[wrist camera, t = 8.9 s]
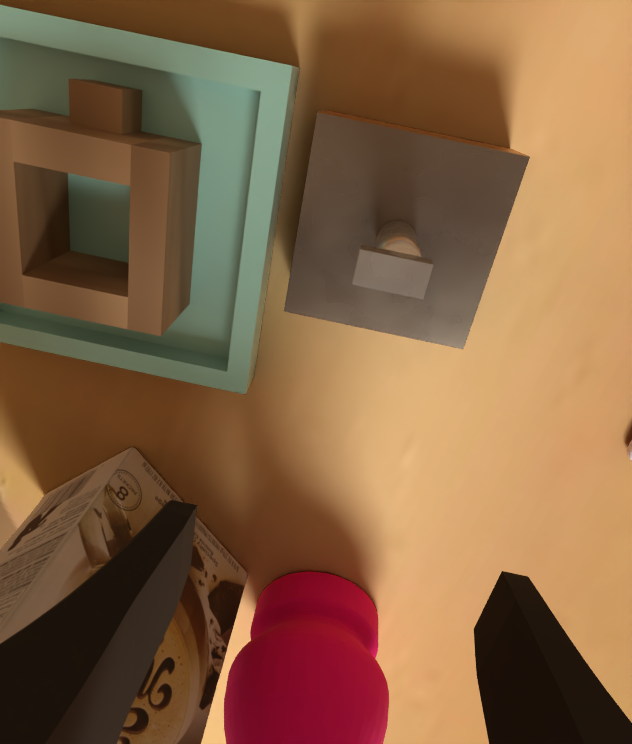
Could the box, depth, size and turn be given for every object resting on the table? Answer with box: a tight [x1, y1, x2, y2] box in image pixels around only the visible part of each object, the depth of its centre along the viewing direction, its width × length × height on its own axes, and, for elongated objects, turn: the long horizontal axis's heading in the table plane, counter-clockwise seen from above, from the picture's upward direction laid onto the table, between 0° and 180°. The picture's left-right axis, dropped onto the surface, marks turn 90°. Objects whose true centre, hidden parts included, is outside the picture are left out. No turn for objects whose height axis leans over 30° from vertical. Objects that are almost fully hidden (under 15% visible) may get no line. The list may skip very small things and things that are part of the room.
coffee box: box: [0, 447, 247, 744], centre depth 20 cm, size 9×6×16 cm
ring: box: [0, 79, 202, 336], centre depth 17 cm, size 6×7×3 cm
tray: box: [0, 5, 300, 395], centre depth 19 cm, size 11×11×2 cm
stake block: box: [284, 110, 530, 349], centre depth 16 cm, size 6×6×6 cm
